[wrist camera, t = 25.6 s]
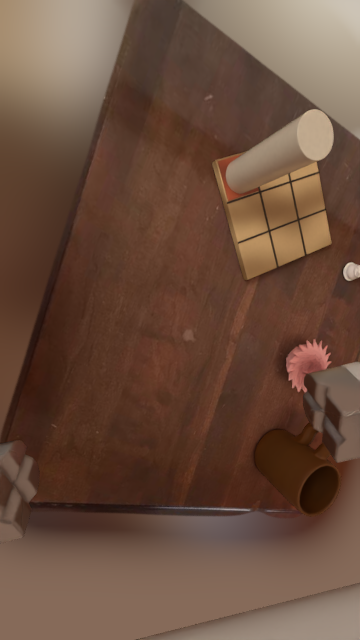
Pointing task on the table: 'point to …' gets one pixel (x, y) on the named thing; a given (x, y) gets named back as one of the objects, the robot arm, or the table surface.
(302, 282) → the table surface
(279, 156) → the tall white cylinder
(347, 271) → the chess pawn
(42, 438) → the table surface
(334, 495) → the mug
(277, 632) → the robot arm
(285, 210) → the board
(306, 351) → the flower
